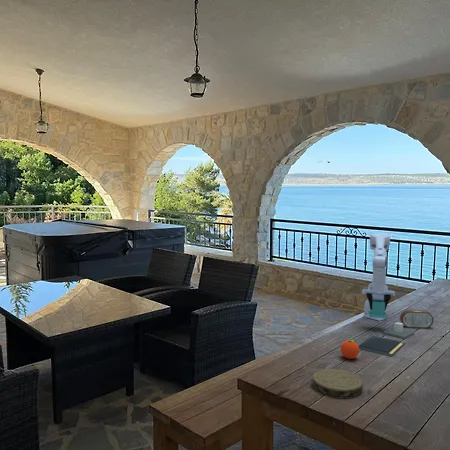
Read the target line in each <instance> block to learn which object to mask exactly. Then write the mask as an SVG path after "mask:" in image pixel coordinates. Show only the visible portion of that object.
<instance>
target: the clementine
mask: <svg viewBox="0 0 450 450" xmlns="http://www.w3.org/2000/svg"><path fill="white" fill-rule="evenodd" d="M358 346H359V344H358V343H357V342H356V340H354V339H349V340H348V339H347V340H345V341H344V342H342V343H341V345H340V352H341V354H342V356H343V357H345V358H346V359H349V360H350V359H351V360H352V359H353V360H354V359H355V358H357V357H358V356H359V353H360V349H359V347H358Z"/></svg>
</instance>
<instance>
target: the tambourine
mask: <svg viewBox="0 0 450 450" xmlns="http://www.w3.org/2000/svg"><path fill="white" fill-rule="evenodd" d="M363 385H364V381H363V380H362V377H360V376H359V375H358V374H356V373H353V372H351V371H347V370H344V369H338V368H323V369H320V370H316V371H315V372H314V373H313V375H312V386H313V388H314V389H315V390H316V391H317V392H319V393H321V394H323V395H326V396H329V397H332V398H338V399H350V398H356V397H358V396H360V395H361V394H363V390H364V389H363Z"/></svg>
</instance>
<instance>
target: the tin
mask: <svg viewBox="0 0 450 450" xmlns="http://www.w3.org/2000/svg"><path fill="white" fill-rule="evenodd" d="M399 321H400V323H403V326H405V327H407V328H413V329H428V328H431V326H433V324H434V316H433V315H432V313H430V311H428V310H425V309H424V310H423V309H422V310H421V309H405V310H403V311H402V312H401V314H400V315H399Z"/></svg>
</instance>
